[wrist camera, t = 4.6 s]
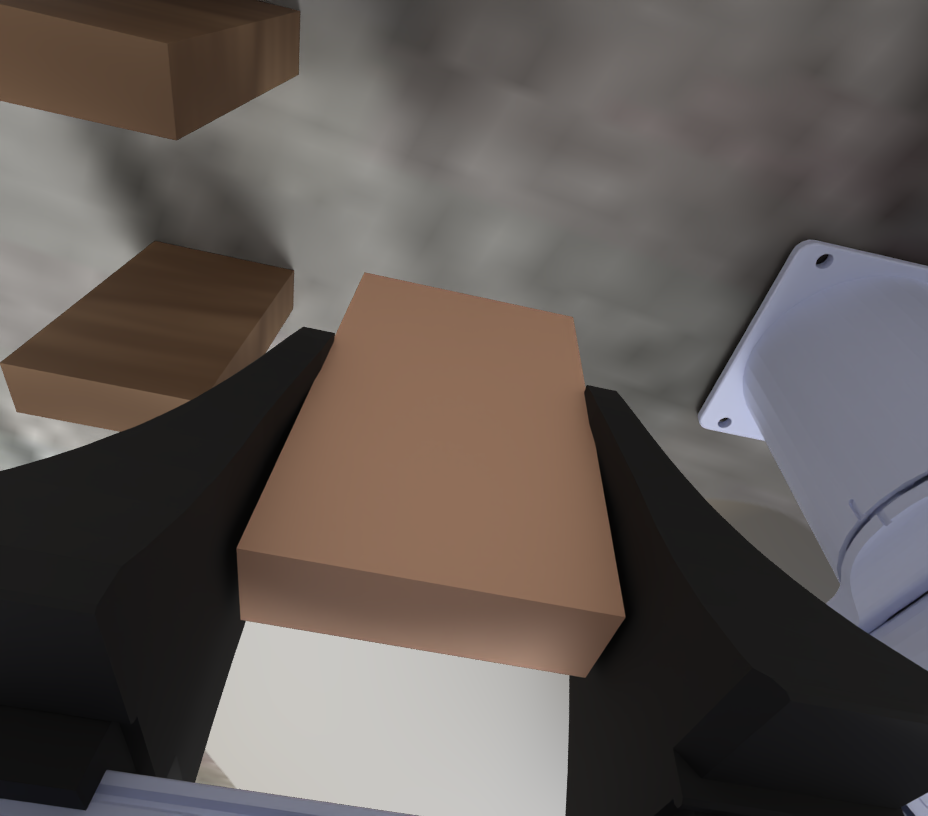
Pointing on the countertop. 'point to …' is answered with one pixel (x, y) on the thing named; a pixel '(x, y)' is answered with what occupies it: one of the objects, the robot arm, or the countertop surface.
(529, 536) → the domino
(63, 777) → the robot arm
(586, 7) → the countertop surface
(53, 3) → the domino
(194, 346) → the domino
